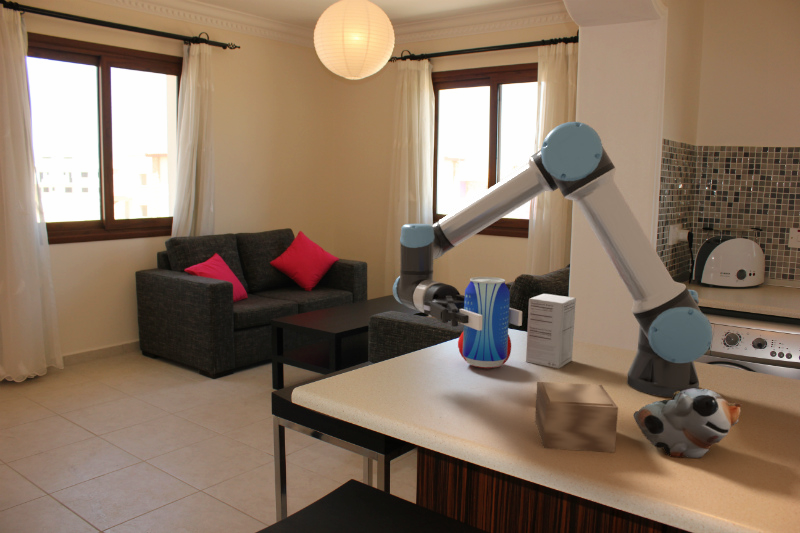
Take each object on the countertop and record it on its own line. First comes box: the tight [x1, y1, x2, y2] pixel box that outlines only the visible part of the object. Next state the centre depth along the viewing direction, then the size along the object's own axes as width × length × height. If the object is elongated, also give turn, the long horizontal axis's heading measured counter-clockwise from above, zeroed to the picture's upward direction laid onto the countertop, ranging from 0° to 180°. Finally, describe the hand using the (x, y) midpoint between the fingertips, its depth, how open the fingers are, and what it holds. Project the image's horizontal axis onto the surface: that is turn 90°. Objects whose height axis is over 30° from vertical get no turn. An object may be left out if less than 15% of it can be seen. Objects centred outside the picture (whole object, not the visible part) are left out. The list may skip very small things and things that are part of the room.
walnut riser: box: [534, 381, 619, 453], centre depth 112 cm, size 12×12×8 cm
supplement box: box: [525, 293, 577, 369], centre depth 160 cm, size 10×9×17 cm
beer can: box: [462, 276, 511, 368], centre depth 118 cm, size 8×8×16 cm
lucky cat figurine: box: [632, 388, 742, 459], centre depth 108 cm, size 15×12×14 cm
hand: (500, 320), depth 113 cm, fingers closed on beer can, 8 cm apart
